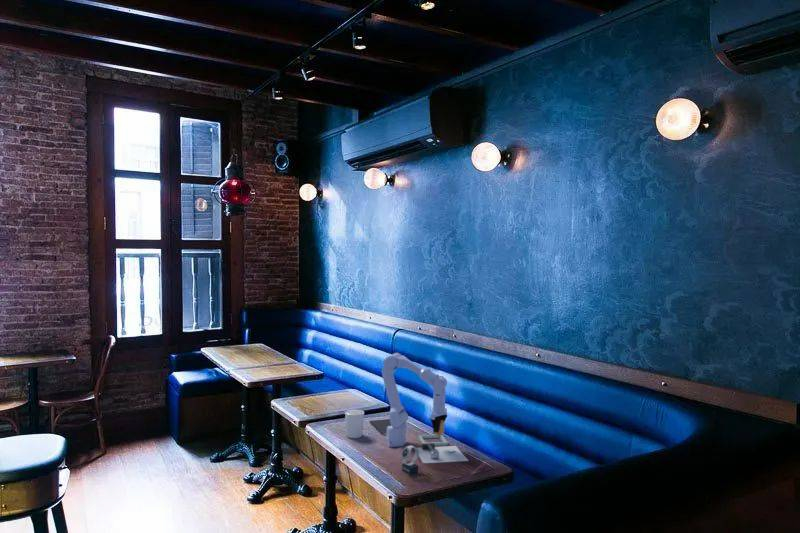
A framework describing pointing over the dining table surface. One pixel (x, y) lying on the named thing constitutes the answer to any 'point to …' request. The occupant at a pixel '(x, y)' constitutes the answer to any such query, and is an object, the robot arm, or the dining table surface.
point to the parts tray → (433, 437)
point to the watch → (409, 466)
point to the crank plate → (442, 455)
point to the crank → (431, 450)
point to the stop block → (440, 429)
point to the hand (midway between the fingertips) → (438, 430)
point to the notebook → (381, 425)
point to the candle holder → (354, 423)
